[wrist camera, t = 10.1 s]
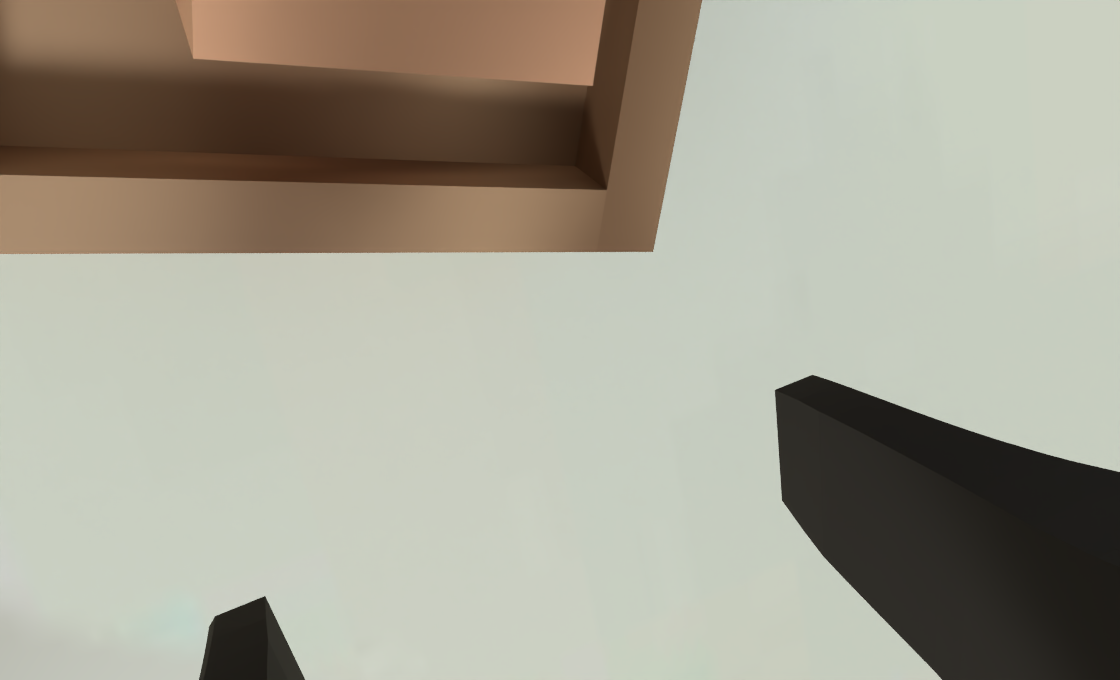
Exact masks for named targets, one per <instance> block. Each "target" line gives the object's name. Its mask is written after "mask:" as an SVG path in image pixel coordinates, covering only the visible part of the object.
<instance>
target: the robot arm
mask: <svg viewBox="0 0 1120 680" xmlns="http://www.w3.org/2000/svg"><path fill="white" fill-rule="evenodd" d="M775 397H776V413H777V428H778V443H779V459H780V474H781V490H782V501H783V502H784V504H785V505H786V506H787V508H788V509H789V511H790V512H791V513H792V515H793V516H794V518H795V519H796V520H797V522H798V523H799V525H800V526H801V527H802V529H803V530H804V532H805V533H806V534H807V535H808V537H809V538H810V539H811V541H812V542H813V543H814V545H815V546H816V547H817V548H818V550H819V551H820V552H821V554H822V555H823V556H824V557H825V558H826V560H827V561H828V562H829V563H830V564H831V565H832V566H833V567H834V568H835V569H836V570H837V571H838V572H839V573H840V574H841V575H842V576H843V578H844V579H845V580H846V581H847V582H848V583H849V584H850V585H851V586H852V587H853V588H854V589H855V590H856V591H857V592H858V593H859V594H860V595H861V596H862V597H863V598H864V599H865V600H866V601H867V602H868V603H869V604H870V605H871V607H872V608H873V609H874V610H875V611H876V612H877V613H878V614H879V615H880V616H881V617H882V618H883V619H884V620H885V621H886V622H887V623H888V624H889V625H890V626H891V627H892V628H893V629H894V630H895V631H896V632H897V633H898V634H899V635H900V636H901V637H902V638H903V639H904V640H905V641H906V642H907V643H908V644H909V645H910V646H911V647H912V648H913V649H914V650H915V652H916V653H917V654H918V655H919V656H920V657H921V658H922V659H923V660H924V661H925V662H926V663H927V664H928V665H929V666H930V667H931V668H932V669H933V670H934V671H935V672H936V673H937V674H938V675H939V677H940V678H941V679H942V680H1120V472H1116V471H1112V470H1108V469H1103V468H1099V467H1095V466H1090V465H1086V464H1082V463H1077V462H1073V461H1069V460H1066V459H1062V458H1058V457H1054V456H1050V455H1047V454H1043V453H1040V452H1036V451H1033V450H1030V449H1026V448H1023V447H1020V446H1016V445H1013V444H1009V443H1006V442H1003V441H999V440H996V439H993V438H990V437H987V436H984V435H981V434H978V433H975V432H971V431H968V430H966V429H963V428H960V427H957V426H954V425H951V424H948V423H945V422H942V421H940V420H937V419H934V418H931V417H928V416H925V415H923V414H920V413H917V412H914V411H912V410H909V409H906V408H903V407H901V406H898V405H895V404H893V403H890V402H887V401H885V400H882V399H879V398H877V397H874V396H871V395H868V394H866V393H863V392H860V391H858V390H855V389H852V388H849V387H847V386H844V385H841V384H838V383H835V382H833V381H830V380H827V379H824V378H820V377H817V376H814V375H811V376H809V377H806V378H804V379H801V380H799V381H796V382H794V383H791V384H789V385H786V386H784V387H781V388H779V389H776V390H775ZM199 680H305V679H304V677H303V674H302V672H301V670H300V668H299V666H298V664H297V662H296V660H295V658H294V656H293V654H292V651H291V649H290V647H289V645H288V643H287V641H286V639H285V637H284V635H283V633H282V631H281V628H280V626H279V624H278V622H277V620H276V618H275V616H274V614H273V612H272V610H271V608H270V605H269V603H268V601H267V599H266V597H265V596H264V597H262V598H259V599H257V600H254V601H252V602H250V603H247V604H245V605H242V606H240V607H237V608H235V609H232V610H230V611H227V612H225V613H222V614H220V615H217V616H215V618H214V619H213V621H212V623H211V625H210V626H209V632H208V638H207V644H206V649H205V654H204V659H203V664H202V669H201V673H200V678H199Z"/></svg>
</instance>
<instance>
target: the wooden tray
mask: <svg viewBox="0 0 1120 680" xmlns="http://www.w3.org/2000/svg"><path fill="white" fill-rule="evenodd" d="M701 3H702V0H606V1H605V8H604V15H603V21H602V28H601V34H600V41H599V48H598V54H597V61H596V67H595V74H594V81H593V86H587V85H572V84H557V83H543V82H528V81H513V80H499V79H484V78H469V77H454V76H440V75H425V74H410V73H396V72H381V71H366V70H352V69H337V68H322V67H308V66H293V65H278V64H264V63H249V62H234V61H220V60H205V59H193V56H192V53H191V50H190V46H189V43H188V40H187V36H186V33H185V30H184V27H183V23H182V20H181V17H180V13H179V10H178V7H177V4H176V0H0V254H89V253H396V252H653V249H654V244H655V239H656V233H657V228H658V223H659V218H660V213H661V208H662V203H663V198H664V192H665V187H666V182H667V177H668V172H669V167H670V162H671V157H672V152H673V146H674V141H675V136H676V131H677V126H678V121H679V116H680V111H681V105H682V100H683V95H684V90H685V85H686V80H687V75H688V70H689V65H690V59H691V54H692V49H693V44H694V39H695V34H696V29H697V24H698V18H699V13H700V8H701Z"/></svg>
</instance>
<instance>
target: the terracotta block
mask: <svg viewBox="0 0 1120 680" xmlns="http://www.w3.org/2000/svg"><path fill="white" fill-rule="evenodd" d="M605 1H606V0H176V4H177V7H178V10H179V13H180V17H181V20H182V23H183V27H184V30H185V33H186V36H187V40H188V43H189V46H190V50H191V53H192V56H193V59H205V60H220V61H234V62H249V63H264V64H278V65H293V66H308V67H322V68H337V69H352V70H366V71H381V72H396V73H410V74H425V75H440V76H454V77H469V78H484V79H499V80H513V81H528V82H543V83H557V84H572V85H587V86H593V81H594V74H595V67H596V61H597V54H598V48H599V41H600V34H601V28H602V21H603V15H604V8H605Z"/></svg>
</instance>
